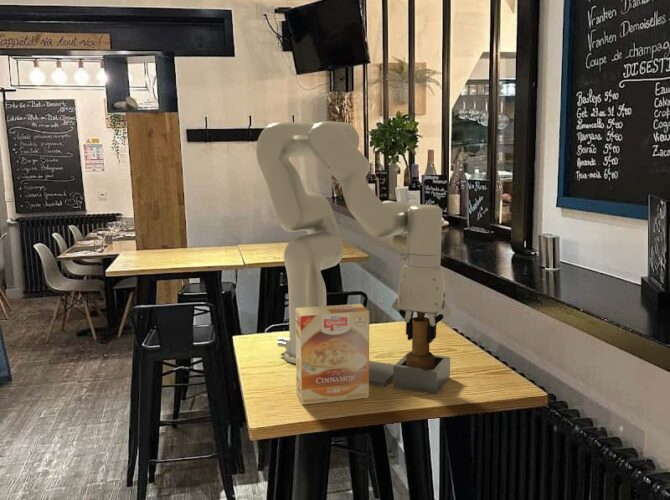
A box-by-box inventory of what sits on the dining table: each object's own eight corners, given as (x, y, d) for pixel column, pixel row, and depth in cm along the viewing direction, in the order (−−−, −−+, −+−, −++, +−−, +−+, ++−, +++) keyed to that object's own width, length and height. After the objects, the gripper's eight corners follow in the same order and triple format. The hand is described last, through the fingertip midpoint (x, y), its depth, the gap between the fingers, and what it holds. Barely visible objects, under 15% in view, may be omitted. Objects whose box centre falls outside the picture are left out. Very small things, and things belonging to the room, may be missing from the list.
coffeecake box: (301, 405, 131) (300, 315, 128) (295, 393, 138) (294, 307, 135) (370, 398, 135) (370, 310, 131) (361, 386, 141) (361, 302, 138)
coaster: (343, 380, 145) (343, 376, 145) (363, 364, 156) (363, 360, 156) (384, 386, 141) (384, 382, 141) (401, 369, 152) (401, 365, 152)
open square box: (393, 387, 141) (393, 366, 140) (409, 371, 150) (409, 351, 150) (436, 394, 136) (437, 372, 136) (449, 377, 146) (450, 357, 145)
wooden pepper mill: (412, 372, 139) (413, 293, 136) (401, 362, 145) (402, 287, 142) (439, 369, 141) (441, 291, 138) (428, 359, 147) (429, 285, 144)
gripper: (382, 260, 139) (380, 339, 142) (456, 267, 132) (452, 350, 135) (393, 254, 146) (391, 330, 149) (464, 261, 139) (461, 340, 142)
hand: (420, 339), depth 142 cm, fingers closed on wooden pepper mill, 3 cm apart
